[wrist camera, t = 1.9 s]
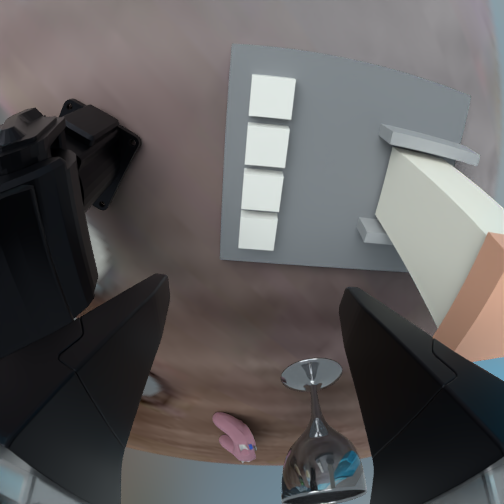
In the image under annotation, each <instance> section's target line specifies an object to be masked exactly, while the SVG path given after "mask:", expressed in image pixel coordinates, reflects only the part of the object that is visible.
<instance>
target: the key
mask: <svg viewBox="0 0 504 504" xmlns="http://www.w3.org/2000/svg"><path fill="white" fill-rule="evenodd" d="M375 215H376V217H377V218H378V220H379V222H380V223H381V225H382V227H383V228H384V230H385V231H386V233H387V235H388V236H389V238H390V240H391V242H392V243H393V245H394V247H395V248H396V250H397V252H398V254H399V255H400V257H401V259H402V261H403V262H404V264H405V266H406V268H407V270H408V271H409V273H410V275H411V277H412V279H413V281H414V282H415V284H416V286H417V288H418V290H419V292H420V294H421V296H422V298H423V300H424V302H425V304H426V306H427V308H428V310H429V312H430V314H431V316H432V318H433V320H434V322H435V324H436V326H437V328H438V329H437V331H436V332H435V334H434V336H433V338H435V339H436V340H438V341H439V342H441V343H442V344H444V345H445V346H447V347H448V348H450V349H451V350H453V351H454V352H456V353H458V354H459V355H461V356H463V357H464V358H466V359H467V360H469V361H471V362H474V361H481V360H487V359H493V358H499V357H504V209H503V208H502V207H501V206H500V205H499V204H498V203H497V202H496V201H495V200H493V199H492V198H491V197H490V196H489V195H488V194H486V193H485V192H484V191H483V190H482V189H481V188H479V187H478V186H477V185H476V184H475V183H473V182H472V181H471V180H470V179H468V178H467V177H466V176H465V175H463V174H462V173H461V172H460V171H458V170H457V169H456V168H454V167H453V166H452V165H450V164H449V163H448V162H446V161H445V160H444V159H442V158H440V157H436V156H432V155H428V154H423V153H419V152H415V151H410V150H406V149H401V148H397V147H392V151H391V156H390V160H389V164H388V168H387V172H386V176H385V180H384V184H383V187H382V191H381V195H380V199H379V202H378V206H377V209H376V213H375Z"/></svg>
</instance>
